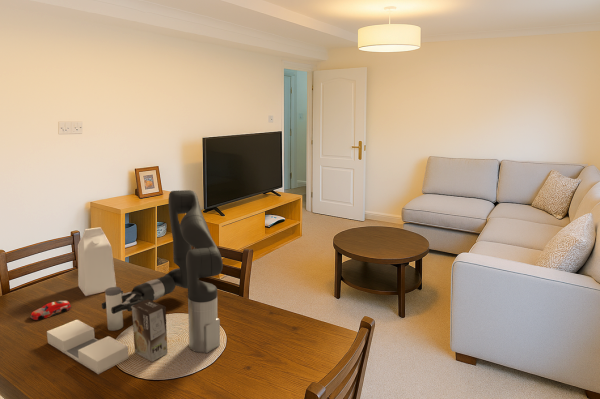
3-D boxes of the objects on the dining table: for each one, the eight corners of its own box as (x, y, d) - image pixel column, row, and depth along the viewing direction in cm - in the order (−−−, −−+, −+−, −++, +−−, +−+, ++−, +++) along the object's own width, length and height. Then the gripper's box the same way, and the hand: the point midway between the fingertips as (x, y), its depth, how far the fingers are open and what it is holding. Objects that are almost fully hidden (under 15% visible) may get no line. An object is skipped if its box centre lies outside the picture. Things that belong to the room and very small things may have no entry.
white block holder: (128, 358, 132) (127, 346, 131) (98, 374, 124) (97, 361, 123) (77, 330, 147) (76, 319, 146) (47, 343, 139) (46, 331, 138)
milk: (108, 279, 189) (104, 223, 184) (116, 288, 181) (112, 229, 175) (78, 286, 182) (73, 227, 176) (85, 295, 173) (80, 234, 167)
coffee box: (168, 353, 136) (167, 306, 132) (151, 362, 131) (149, 314, 127) (150, 343, 141) (148, 298, 137) (133, 352, 135) (130, 305, 132)
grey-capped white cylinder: (126, 326, 151) (124, 289, 148) (113, 332, 147) (110, 294, 144) (117, 321, 154) (115, 285, 151) (104, 327, 149) (102, 290, 146)
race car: (33, 323, 151) (32, 312, 150) (28, 317, 155) (27, 307, 154) (73, 310, 161) (72, 301, 160) (67, 306, 165) (66, 296, 164)
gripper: (136, 277, 163) (94, 293, 149) (161, 287, 156) (119, 304, 142) (137, 296, 165) (95, 312, 151) (161, 306, 157) (120, 325, 143)
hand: (107, 308), depth 146 cm, fingers closed on grey-capped white cylinder, 5 cm apart
